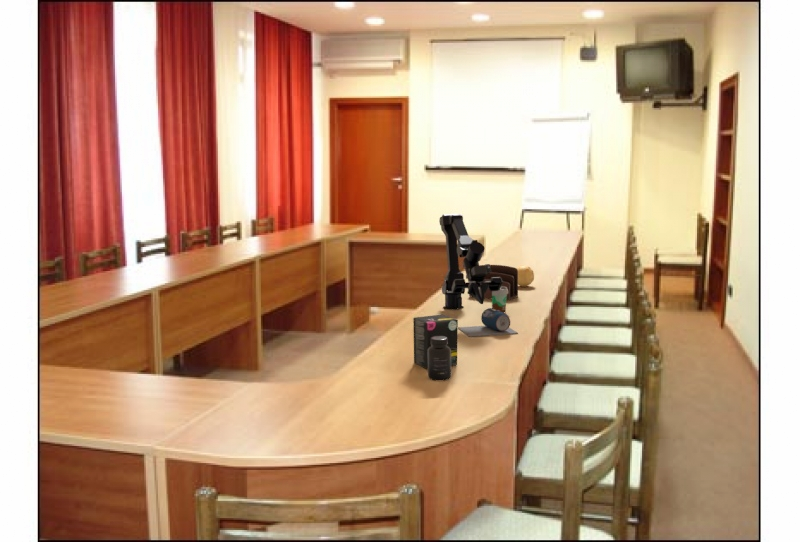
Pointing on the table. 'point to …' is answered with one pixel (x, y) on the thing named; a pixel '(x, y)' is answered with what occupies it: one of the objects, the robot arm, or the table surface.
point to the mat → (484, 331)
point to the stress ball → (525, 276)
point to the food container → (499, 299)
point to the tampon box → (434, 327)
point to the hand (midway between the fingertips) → (482, 303)
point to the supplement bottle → (439, 359)
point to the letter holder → (504, 280)
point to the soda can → (495, 319)
